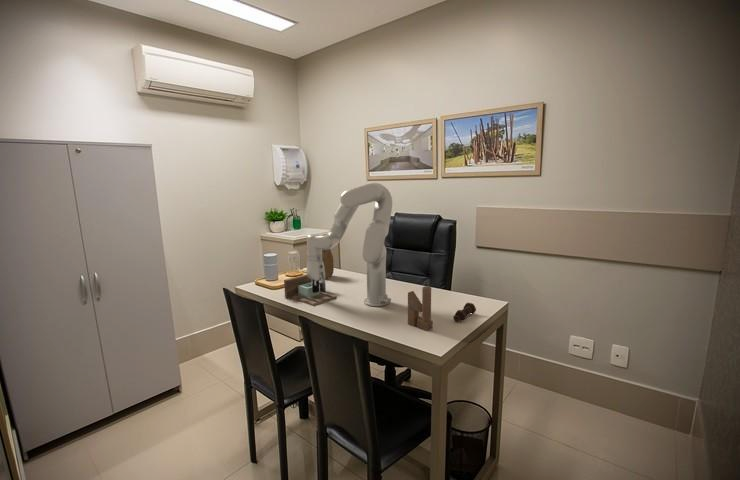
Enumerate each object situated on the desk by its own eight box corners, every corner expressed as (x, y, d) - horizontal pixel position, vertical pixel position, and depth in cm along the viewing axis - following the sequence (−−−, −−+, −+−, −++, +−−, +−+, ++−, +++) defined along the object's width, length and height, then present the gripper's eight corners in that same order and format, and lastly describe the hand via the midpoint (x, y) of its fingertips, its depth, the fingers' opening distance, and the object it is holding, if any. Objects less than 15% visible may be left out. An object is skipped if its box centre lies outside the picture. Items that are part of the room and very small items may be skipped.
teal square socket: (319, 294, 193) (319, 285, 192) (307, 297, 187) (307, 288, 187) (310, 291, 198) (309, 282, 198) (298, 294, 193) (298, 285, 192)
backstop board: (339, 297, 192) (339, 278, 190) (309, 306, 177) (309, 287, 175) (311, 288, 208) (310, 271, 206) (281, 296, 193) (281, 279, 191)
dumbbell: (454, 326, 156) (468, 315, 167) (463, 323, 152) (478, 312, 164) (448, 314, 156) (463, 304, 168) (457, 311, 153) (472, 300, 165)
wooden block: (412, 321, 156) (413, 282, 154) (432, 328, 149) (433, 287, 146) (407, 324, 154) (407, 283, 151) (427, 331, 146) (428, 289, 143)
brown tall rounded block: (323, 280, 226) (322, 248, 223) (315, 278, 230) (314, 247, 227) (335, 276, 234) (334, 246, 231) (327, 274, 239) (326, 245, 236)
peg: (327, 291, 202) (326, 270, 200) (322, 292, 200) (321, 271, 198) (323, 289, 205) (322, 269, 203) (318, 291, 202) (317, 270, 200)
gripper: (329, 258, 183) (330, 293, 186) (311, 255, 193) (312, 287, 196) (318, 261, 178) (319, 296, 181) (300, 257, 188) (301, 291, 191)
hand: (315, 292), depth 188 cm, fingers closed
